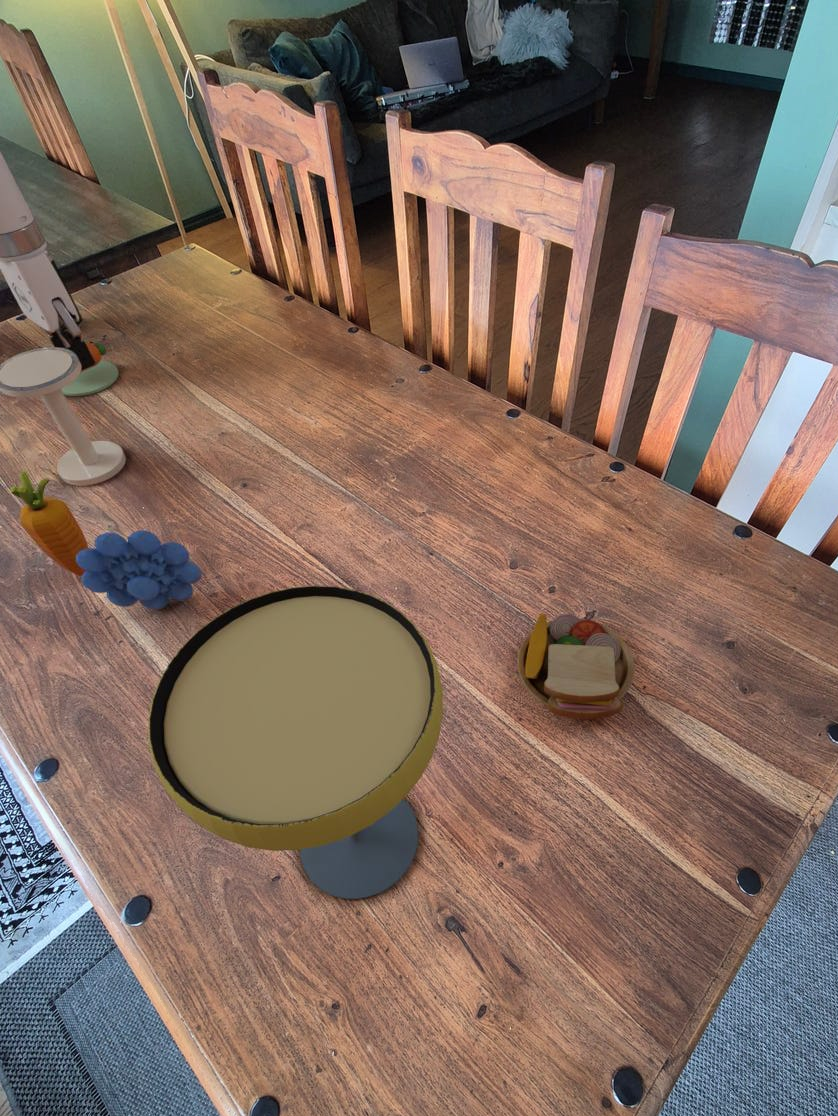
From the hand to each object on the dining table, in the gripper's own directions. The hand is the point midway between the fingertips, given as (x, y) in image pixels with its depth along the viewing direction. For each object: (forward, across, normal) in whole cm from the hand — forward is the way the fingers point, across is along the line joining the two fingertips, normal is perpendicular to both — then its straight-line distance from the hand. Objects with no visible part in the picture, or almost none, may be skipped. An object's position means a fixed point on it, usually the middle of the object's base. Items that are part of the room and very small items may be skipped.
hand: (78, 361), depth 106 cm
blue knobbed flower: (+4, +54, -19) cm, 57 cm away
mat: (+3, 0, 0) cm, 3 cm away
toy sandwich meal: (+4, +96, +6) cm, 96 cm away
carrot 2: (+1, -1, 0) cm, 1 cm away
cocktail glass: (+4, +92, -22) cm, 95 cm away
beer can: (+3, -19, +7) cm, 21 cm away
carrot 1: (+3, +42, -22) cm, 48 cm away
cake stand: (+3, +22, -11) cm, 25 cm away
